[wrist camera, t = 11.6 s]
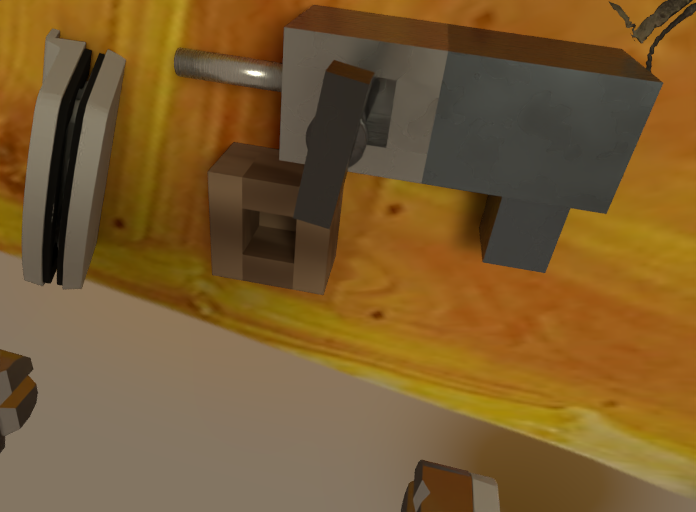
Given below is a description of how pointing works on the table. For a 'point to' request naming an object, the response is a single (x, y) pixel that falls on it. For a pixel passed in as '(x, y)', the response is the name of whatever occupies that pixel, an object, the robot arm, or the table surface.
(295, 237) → the brown square ring block
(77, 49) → the grey curved-top slotted block
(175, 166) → the table surface
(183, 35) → the table surface
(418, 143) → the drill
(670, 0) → the forked twig branch
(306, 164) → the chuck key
